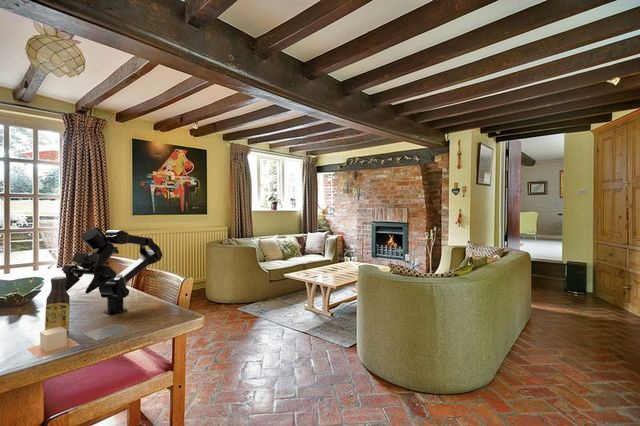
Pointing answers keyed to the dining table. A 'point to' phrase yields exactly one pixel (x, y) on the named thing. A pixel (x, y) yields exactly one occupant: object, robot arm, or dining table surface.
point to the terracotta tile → (40, 352)
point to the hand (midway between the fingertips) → (74, 292)
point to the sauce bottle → (57, 305)
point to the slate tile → (105, 332)
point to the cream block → (53, 339)
